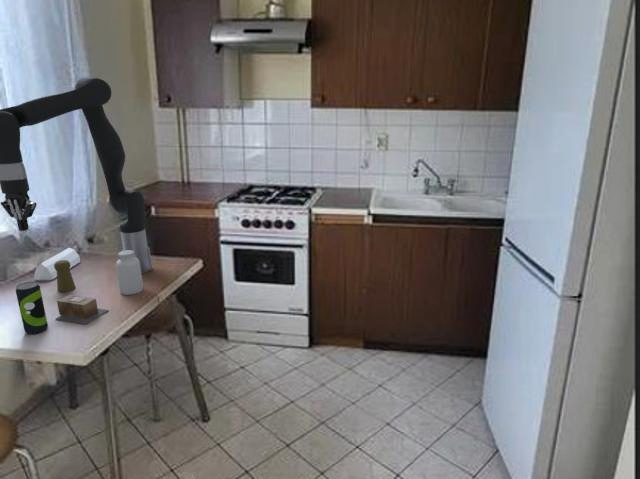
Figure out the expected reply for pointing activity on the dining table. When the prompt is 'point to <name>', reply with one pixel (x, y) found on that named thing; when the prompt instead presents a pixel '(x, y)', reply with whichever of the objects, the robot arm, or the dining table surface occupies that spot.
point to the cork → (64, 276)
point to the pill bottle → (129, 273)
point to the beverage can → (31, 307)
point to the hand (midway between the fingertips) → (24, 230)
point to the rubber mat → (80, 320)
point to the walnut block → (77, 306)
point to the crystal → (47, 268)
